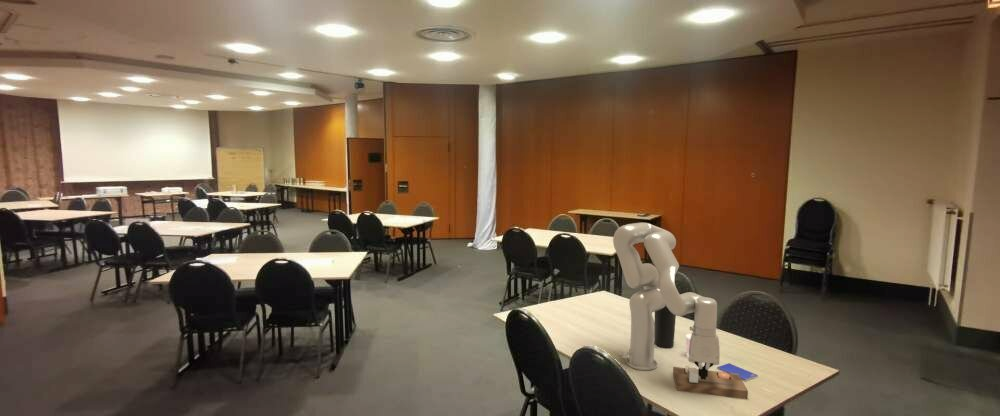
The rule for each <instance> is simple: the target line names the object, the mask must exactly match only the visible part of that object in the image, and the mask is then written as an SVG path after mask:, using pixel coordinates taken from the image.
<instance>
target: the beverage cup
mask: <svg viewBox="0 0 1000 416" xmlns="http://www.w3.org/2000/svg"><path fill="white" fill-rule="evenodd" d="M693 326H694V324H693ZM693 326H692V327H693ZM691 335H692V333H687V334H686V335H685V340H686V343H685V344H686V345H685V346H686V357H688V358H689V346H690V339H691Z"/></svg>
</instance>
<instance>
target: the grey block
mask: <svg viewBox="0 0 1000 416" xmlns="http://www.w3.org/2000/svg"><path fill="white" fill-rule="evenodd" d="M697 369H698V368H697V367H696V368H690V367H688V375H687V376H688V379H689V382H693V383H698V372H697Z"/></svg>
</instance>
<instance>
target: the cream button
mask: <svg viewBox="0 0 1000 416" xmlns="http://www.w3.org/2000/svg"><path fill="white" fill-rule="evenodd" d="M688 367H690V368H696V369H697V366H694V365H690V364H689V365H688V364H687V365H685V367H684V368H685V374H687V375H688Z"/></svg>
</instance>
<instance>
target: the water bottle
mask: <svg viewBox="0 0 1000 416" xmlns="http://www.w3.org/2000/svg"><path fill="white" fill-rule="evenodd" d="M676 319H677V316H676V315H674V314H672V313H671V312H670V311H669V309H668V308H667V306H665V307H664V308H662V309H660V310H657V311H654V323H655V334H654V346H656V347H658V348H660V349H672V348H674V346H675V345H674V343H675V332H676Z"/></svg>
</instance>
